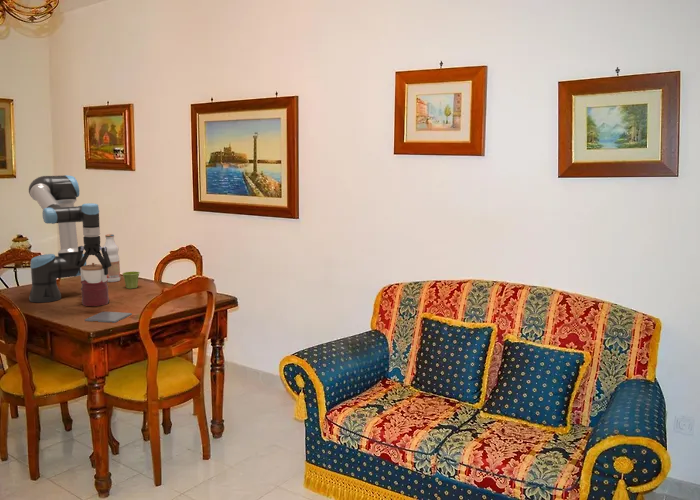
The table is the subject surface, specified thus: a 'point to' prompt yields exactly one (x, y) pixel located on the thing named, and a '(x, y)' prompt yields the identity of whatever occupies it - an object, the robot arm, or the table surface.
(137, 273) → the plant pot
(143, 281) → the table surface
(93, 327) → the table surface
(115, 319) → the slate board
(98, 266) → the lidded jar
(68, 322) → the table surface
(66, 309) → the table surface
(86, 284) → the canister
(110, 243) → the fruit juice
